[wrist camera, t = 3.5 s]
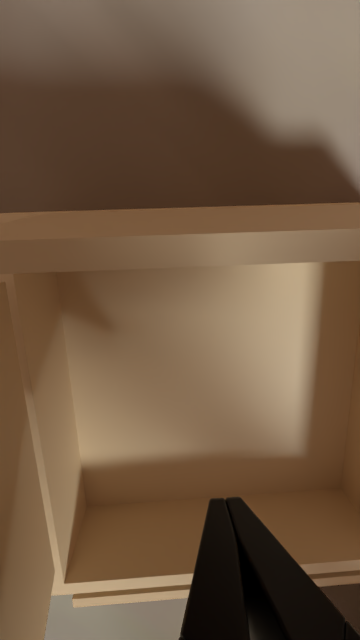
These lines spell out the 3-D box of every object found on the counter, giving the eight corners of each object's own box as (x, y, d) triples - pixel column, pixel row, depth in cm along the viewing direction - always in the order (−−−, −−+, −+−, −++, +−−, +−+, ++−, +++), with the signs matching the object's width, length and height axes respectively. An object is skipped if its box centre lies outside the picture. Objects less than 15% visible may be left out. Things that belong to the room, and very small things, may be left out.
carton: (355, 498, 15) (415, 578, 12) (81, 518, 15) (54, 609, 11) (391, 212, 12) (491, 198, 8) (40, 223, 11) (-18, 213, 8)
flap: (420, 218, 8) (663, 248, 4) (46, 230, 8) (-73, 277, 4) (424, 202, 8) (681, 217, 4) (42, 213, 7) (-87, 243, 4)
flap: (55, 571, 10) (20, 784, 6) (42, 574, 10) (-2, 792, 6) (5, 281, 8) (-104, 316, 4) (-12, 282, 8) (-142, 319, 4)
